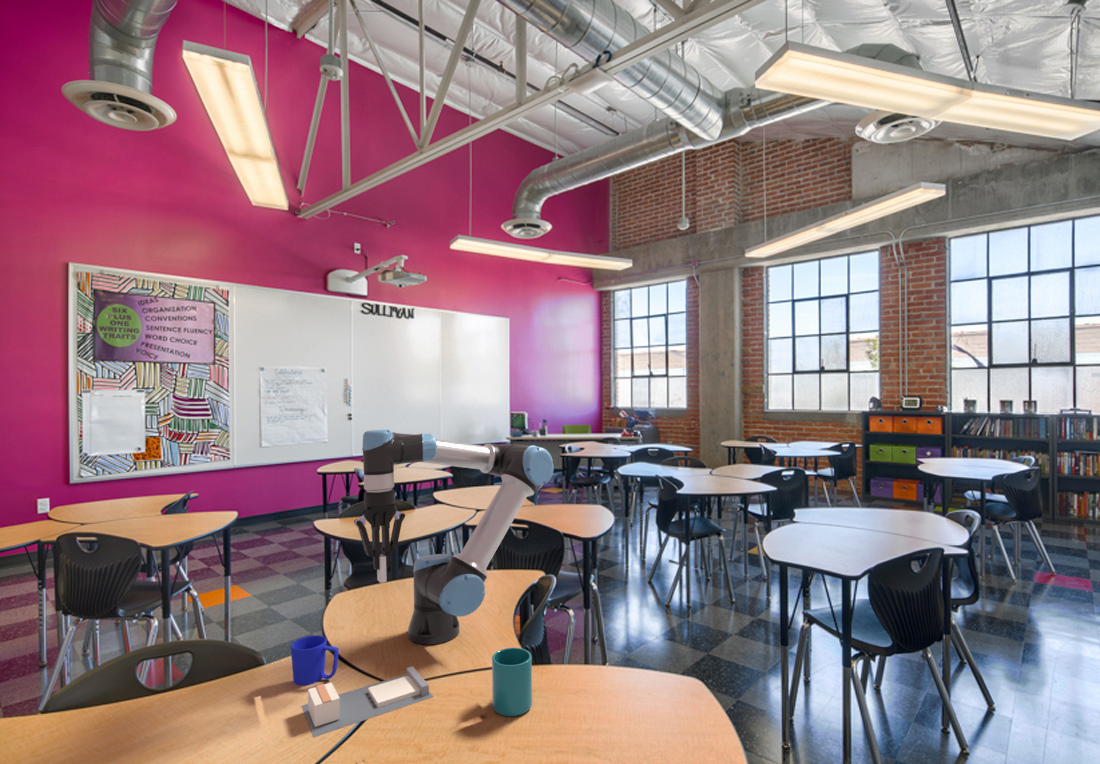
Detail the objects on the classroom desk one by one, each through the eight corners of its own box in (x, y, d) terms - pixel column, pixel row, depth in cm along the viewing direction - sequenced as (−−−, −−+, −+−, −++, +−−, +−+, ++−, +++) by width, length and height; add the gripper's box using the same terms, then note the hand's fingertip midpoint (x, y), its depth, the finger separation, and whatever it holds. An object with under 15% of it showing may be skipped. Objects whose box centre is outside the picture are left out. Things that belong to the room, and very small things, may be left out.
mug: (327, 694, 128) (327, 652, 129) (283, 690, 131) (283, 648, 131) (347, 677, 136) (347, 637, 137) (305, 673, 139) (305, 634, 139)
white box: (331, 701, 122) (331, 681, 123) (339, 718, 116) (339, 697, 116) (308, 709, 120) (308, 688, 120) (314, 727, 113) (315, 704, 113)
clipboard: (412, 676, 136) (412, 663, 136) (433, 701, 125) (433, 687, 125) (301, 711, 122) (301, 695, 122) (313, 743, 110) (313, 726, 110)
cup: (535, 689, 129) (535, 642, 130) (529, 718, 117) (528, 666, 118) (498, 688, 130) (498, 641, 131) (488, 717, 118) (488, 665, 119)
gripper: (398, 484, 146) (401, 571, 145) (349, 491, 138) (352, 583, 138) (408, 487, 140) (411, 578, 139) (358, 495, 132) (360, 591, 132)
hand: (382, 580), depth 139 cm, fingers closed
